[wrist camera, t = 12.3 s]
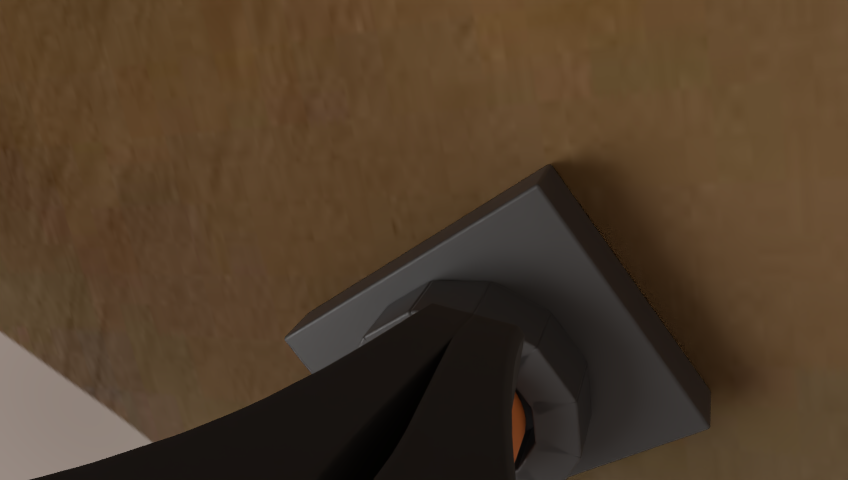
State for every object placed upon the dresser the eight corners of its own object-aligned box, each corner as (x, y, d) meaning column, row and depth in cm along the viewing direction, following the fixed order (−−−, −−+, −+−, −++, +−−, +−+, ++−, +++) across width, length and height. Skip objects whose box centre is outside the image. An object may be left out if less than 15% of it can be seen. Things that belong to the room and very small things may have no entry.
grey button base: (447, 489, 26) (412, 568, 23) (308, 312, 24) (251, 371, 21) (712, 391, 20) (711, 476, 17) (550, 162, 19) (520, 211, 16)
